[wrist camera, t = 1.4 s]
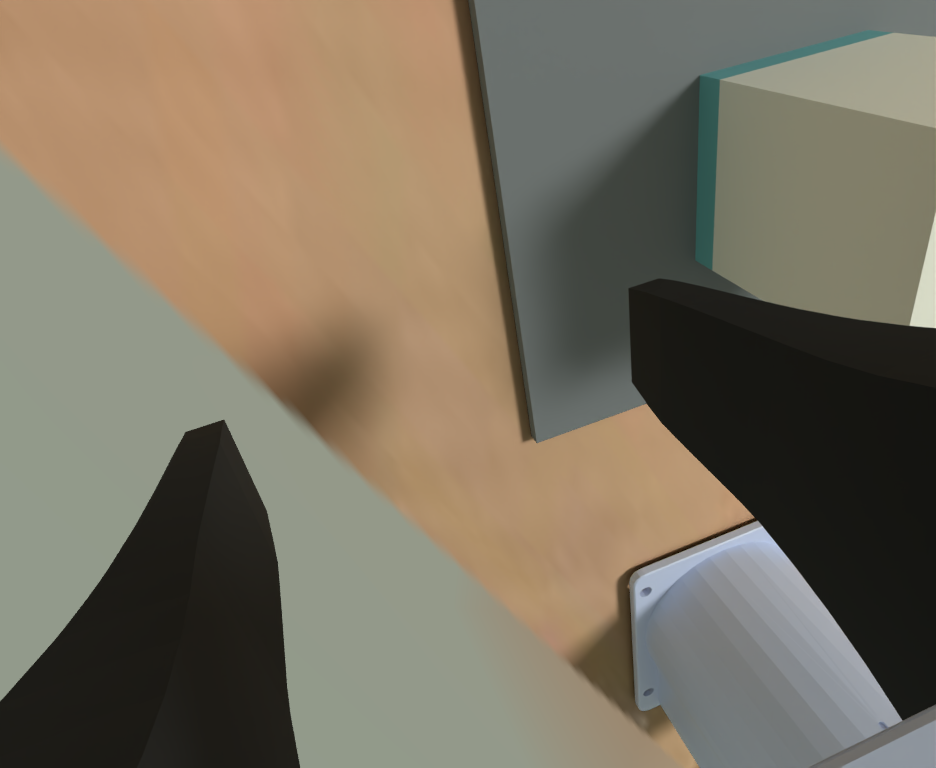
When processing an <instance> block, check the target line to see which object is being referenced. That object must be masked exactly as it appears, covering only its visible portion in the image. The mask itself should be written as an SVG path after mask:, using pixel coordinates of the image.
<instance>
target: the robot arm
mask: <svg viewBox="0 0 936 768" xmlns="http://www.w3.org/2000/svg"><path fill="white" fill-rule="evenodd" d="M628 292H629V320H630V348H631V375H632V383H633V385H634V386H635V388H636V389H637V390H638V392H639V393H640V395H641V396H642V397H643V399H644V400H645V402H646V403H647V405H648V406H649V407H650V408H651V410H652V411H653V412H654V414H655V415H656V416H657V418H658V419H659V420H660V421H661V423H662V424H663V425H664V426H665V427H666V428H667V429H668V430H669V431H670V432H671V433H672V434H673V435H674V436H675V437H676V438H677V439H678V440H679V441H680V442H681V443H682V444H683V445H684V446H685V447H686V448H687V449H688V450H689V451H690V452H691V453H692V454H693V455H694V456H695V457H696V458H697V459H698V460H699V461H700V462H701V463H702V464H703V465H704V466H705V467H706V468H707V469H708V470H709V471H710V472H711V473H712V474H713V475H714V476H715V477H716V478H717V479H718V480H719V481H720V482H721V483H722V484H723V485H724V486H725V487H726V488H727V489H728V490H729V491H730V492H731V493H732V494H733V495H734V496H735V497H736V498H737V499H738V500H739V501H740V502H741V503H742V504H743V505H744V506H745V507H746V508H747V509H748V511H749V512H750V513H751V514H752V515H753V516H754V517H755V518H756V519H757V520H758V521H756V522H753V523H751V524H748V525H746V526H743V527H741V528H739V529H736V530H734V531H731V532H729V533H726V534H724V535H721V536H719V537H717V538H714V539H712V540H709V541H707V542H704V543H702V544H699V545H697V546H695V547H692V548H690V549H687V550H685V551H682V552H680V553H677V554H675V555H673V556H670V557H668V558H665V559H663V560H660V561H658V562H655V563H653V564H650V565H648V566H646V567H643V568H641V569H639V570H637V571H635V572H634V573H633V574H632V576H631V578H630V582H629V584H630V605H631V625H632V646H633V666H634V687H635V703H636V705H637V706H638V708H639V710H641V711H647V710H650V709H652V708H654V707H657V706H659V705H661V707H662V708H663V710H664V712H665V713H666V715H667V716H668V718H669V719H670V721H671V723H672V724H673V726H674V727H675V729H676V731H677V732H678V734H679V735H680V737H681V739H682V740H683V742H684V743H685V745H686V747H687V748H688V750H689V751H690V753H691V754H692V756H693V758H694V759H695V761H696V762H697V764H698V766H699V767H700V768H936V328H929V327H917V326H906V325H898V324H890V323H882V322H874V321H866V320H858V319H852V318H845V317H839V316H834V315H829V314H823V313H818V312H813V311H807V310H802V309H797V308H793V307H788V306H783V305H779V304H774V303H770V302H765V301H761V300H757V299H753V298H749V297H744V296H740V295H736V294H732V293H728V292H724V291H720V290H716V289H711V288H707V287H703V286H699V285H694V284H690V283H685V282H680V281H675V280H668V279H661V278H658V279H655V280H652V281H649V282H646V283H643V284H640V285H637V286H634V287H631V288H628ZM0 768H300V765H299V759H298V754H297V749H296V742H295V737H294V731H293V727H292V721H291V715H290V707H289V699H288V690H287V679H286V665H285V652H284V638H283V624H282V610H281V597H280V583H279V571H278V562H277V557H276V552H275V547H274V542H273V537H272V533H271V528H270V523H269V519H268V514H267V511H266V508H265V506H264V504H263V502H262V500H261V498H260V496H259V493H258V491H257V489H256V487H255V485H254V483H253V481H252V478H251V476H250V474H249V472H248V470H247V468H246V465H245V463H244V461H243V459H242V457H241V455H240V453H239V450H238V448H237V446H236V444H235V442H234V440H233V438H232V435H231V433H230V431H229V429H228V427H227V425H226V423H225V420H221V421H218V422H215V423H212V424H209V425H206V426H203V427H200V428H197V429H194V430H191V431H188V432H185V434H184V436H183V438H182V440H181V442H180V444H179V445H178V447H177V449H176V451H175V453H174V455H173V457H172V458H171V460H170V462H169V465H168V466H167V468H166V470H165V472H164V474H163V476H162V478H161V480H160V482H159V484H158V486H157V487H156V490H155V491H154V493H153V495H152V497H151V499H150V500H149V502H148V504H147V506H146V508H145V510H144V511H143V513H142V515H141V517H140V518H139V520H138V522H137V524H136V526H135V527H134V529H133V530H132V532H131V534H130V535H129V537H128V538H127V540H126V542H125V543H124V545H123V546H122V548H121V550H120V551H119V553H118V554H117V556H116V558H115V559H114V561H113V562H112V564H111V565H110V567H109V569H108V570H107V572H106V573H105V575H104V576H103V577H102V579H101V581H100V582H99V583H98V585H97V586H96V587H95V589H94V590H93V592H92V593H91V594H90V596H89V597H88V599H87V600H86V601H85V602H84V604H83V605H82V606H81V607H80V609H79V610H78V611H77V613H76V614H75V615H74V617H73V618H72V619H71V621H70V622H69V623H68V624H67V626H66V627H65V628H64V629H63V631H62V632H61V633H60V634H59V636H58V637H57V638H56V639H55V641H54V642H53V643H52V644H51V645H50V646H49V647H48V648H47V650H46V651H45V652H44V653H43V654H42V655H41V656H40V658H39V659H38V660H37V661H36V662H35V663H34V664H33V666H32V667H31V668H30V669H29V670H28V671H27V672H26V673H25V674H24V676H23V677H22V678H21V679H20V680H19V681H18V682H17V683H16V685H15V686H14V687H13V688H12V689H11V690H10V691H9V693H8V694H7V695H6V696H5V697H4V698H3V699H2V700H1V701H0Z"/></svg>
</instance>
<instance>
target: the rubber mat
mask: <svg viewBox="0 0 936 768" xmlns="http://www.w3.org/2000/svg"><path fill="white" fill-rule="evenodd" d="M468 2H469V9H470V16H471V23H472V30H473V36H474V43H475V50H476V57H477V64H478V71H479V78H480V84H481V91H482V98H483V105H484V112H485V119H486V126H487V133H488V139H489V146H490V153H491V160H492V167H493V174H494V181H495V187H496V194H497V201H498V208H499V215H500V222H501V229H502V236H503V242H504V249H505V256H506V263H507V270H508V277H509V284H510V290H511V297H512V304H513V311H514V318H515V325H516V332H517V338H518V345H519V352H520V359H521V366H522V373H523V380H524V387H525V393H526V400H527V407H528V414H529V421H530V428H531V435H532V437H533V438H534V440H535V441H536V443H539V442H541V441H544V440H547V439H550V438H552V437H555V436H558V435H561V434H564V433H566V432H569V431H572V430H575V429H577V428H580V427H583V426H586V425H589V424H591V423H594V422H597V421H600V420H602V419H605V418H608V417H611V416H613V415H616V414H619V413H622V412H625V411H627V410H630V409H633V408H636V407H638V406H641V405H644V404H647V403H646V402H645V400H644V399H643V397H642V396H641V395H640V393H639V392H638V390H637V389H636V388H635V386H634V385H633V383H632V375H631V348H630V320H629V292H628V288H631V287H634V286H637V285H640V284H643V283H646V282H649V281H652V280H655V279H658V278H661V279H668V280H675V281H680V282H685V283H690V284H694V285H699V286H703V287H707V288H711V289H716V290H720V291H724V292H728V293H732V294H736V295H740V296H744V297H749V298H753V299H757V300H761V299H759V298H758V297H756V296H754V295H753V294H751V293H749V292H747V291H746V290H744V289H742V288H741V287H739V286H737V285H736V284H734V283H732V282H731V281H729V280H727V279H726V278H724V277H722V276H721V275H719V274H717V273H716V272H714V271H712V270H711V269H709V268H707V267H705V266H704V265H702V264H700V263H699V262H697V261H695V252H696V212H697V171H698V130H699V89H700V75H702V74H706V73H710V72H713V71H717V70H721V69H725V68H728V67H732V66H736V65H740V64H743V63H747V62H751V61H754V60H758V59H762V58H766V57H769V56H773V55H777V54H781V53H784V52H788V51H792V50H796V49H799V48H803V47H807V46H810V45H814V44H818V43H822V42H825V41H829V40H833V39H837V38H840V37H844V36H848V35H852V34H855V33H859V32H863V31H867V30H872V31H882V32H892V33H902V34H912V35H921V36H931V37H936V0H468ZM761 301H763V300H761Z"/></svg>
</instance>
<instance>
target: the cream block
mask: <svg viewBox="0 0 936 768" xmlns="http://www.w3.org/2000/svg"><path fill="white" fill-rule="evenodd" d="M695 261H697V262H699V263H700V264H702V265H704V266H705V267H707V268H709V269H711V270H712V271H714V272H716V273H717V274H719V275H721V276H722V277H724V278H726V279H727V280H729V281H731V282H732V283H734V284H736V285H737V286H739V287H741V288H742V289H744V290H746V291H747V292H749V293H751V294H753V295H754V296H756V297H758V298H759V299H761V300H763V301H765V302H770V303H774V304H779V305H783V306H788V307H793V308H797V309H802V310H807V311H813V312H818V313H823V314H829V315H834V316H839V317H845V318H852V319H858V320H866V321H874V322H882V323H890V324H898V325H906V326H917V327H929V328H936V37H931V36H921V35H912V34H902V33H892V32H882V31H872V30H867V31H863V32H859V33H855V34H852V35H848V36H844V37H840V38H837V39H833V40H829V41H825V42H822V43H818V44H814V45H810V46H807V47H803V48H799V49H796V50H792V51H788V52H784V53H781V54H777V55H773V56H769V57H766V58H762V59H758V60H754V61H751V62H747V63H743V64H740V65H736V66H732V67H728V68H725V69H721V70H717V71H713V72H710V73H706V74H702V75H700V89H699V130H698V171H697V212H696V252H695Z"/></svg>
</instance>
